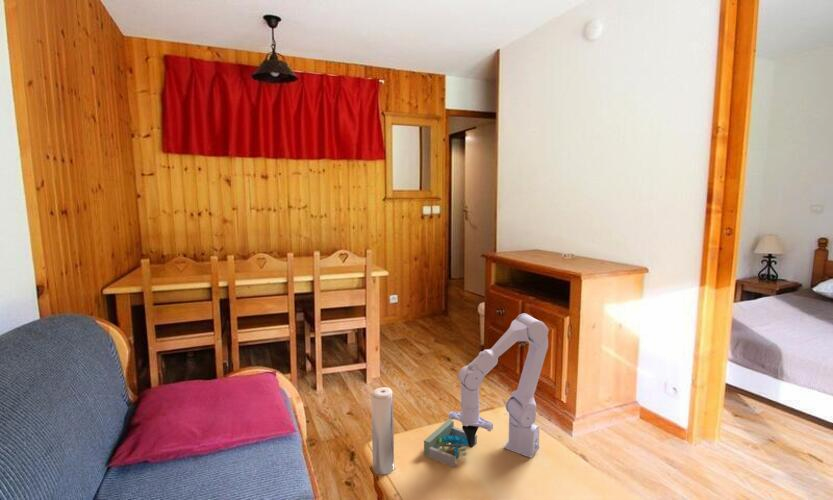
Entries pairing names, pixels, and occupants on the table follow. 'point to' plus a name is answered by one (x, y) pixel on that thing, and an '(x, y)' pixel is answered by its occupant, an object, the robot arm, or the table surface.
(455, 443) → the blue toy cog wheel
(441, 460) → the green u-shaped bracket
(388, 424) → the white cylindrical tube
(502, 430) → the table surface
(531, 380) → the robot arm
